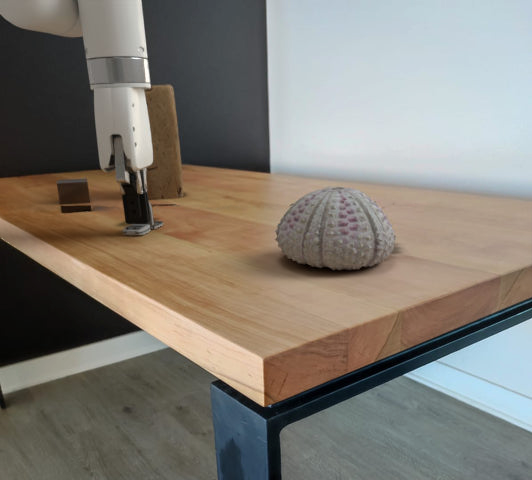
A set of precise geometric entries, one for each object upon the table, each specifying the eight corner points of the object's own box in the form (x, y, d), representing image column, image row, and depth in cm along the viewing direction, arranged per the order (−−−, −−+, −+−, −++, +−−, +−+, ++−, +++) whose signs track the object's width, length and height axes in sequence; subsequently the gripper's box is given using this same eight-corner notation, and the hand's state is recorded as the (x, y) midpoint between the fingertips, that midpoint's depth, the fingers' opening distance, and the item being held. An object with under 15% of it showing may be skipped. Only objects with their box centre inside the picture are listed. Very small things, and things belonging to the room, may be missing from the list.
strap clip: (141, 237, 75) (137, 205, 73) (121, 236, 76) (117, 205, 74) (165, 224, 83) (162, 196, 81) (147, 224, 83) (144, 195, 82)
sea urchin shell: (330, 241, 70) (332, 177, 67) (419, 260, 61) (427, 186, 58) (252, 260, 63) (250, 188, 59) (340, 285, 53) (344, 201, 50)
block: (185, 206, 98) (176, 82, 90) (143, 208, 97) (129, 83, 88) (180, 197, 108) (171, 85, 99) (142, 199, 106) (129, 85, 98)
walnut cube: (61, 213, 94) (56, 183, 91) (62, 208, 98) (57, 179, 96) (91, 211, 95) (87, 181, 93) (91, 206, 99) (86, 178, 97)
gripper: (109, 80, 76) (127, 214, 83) (68, 74, 62) (94, 234, 70) (162, 78, 75) (175, 212, 83) (132, 71, 62) (151, 233, 69)
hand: (138, 222), depth 76 cm, fingers closed
